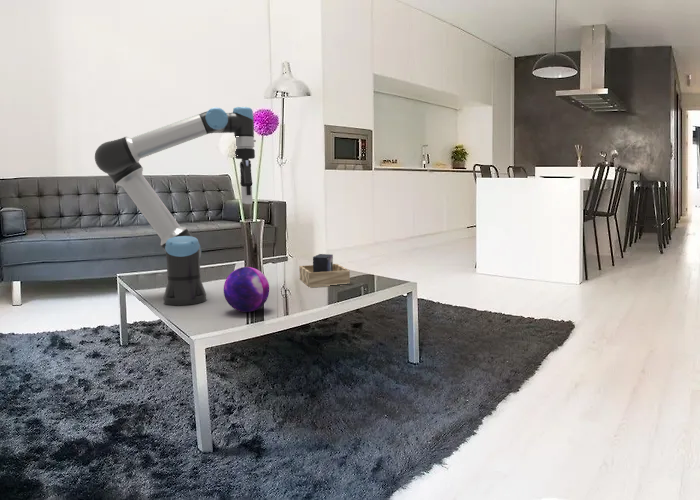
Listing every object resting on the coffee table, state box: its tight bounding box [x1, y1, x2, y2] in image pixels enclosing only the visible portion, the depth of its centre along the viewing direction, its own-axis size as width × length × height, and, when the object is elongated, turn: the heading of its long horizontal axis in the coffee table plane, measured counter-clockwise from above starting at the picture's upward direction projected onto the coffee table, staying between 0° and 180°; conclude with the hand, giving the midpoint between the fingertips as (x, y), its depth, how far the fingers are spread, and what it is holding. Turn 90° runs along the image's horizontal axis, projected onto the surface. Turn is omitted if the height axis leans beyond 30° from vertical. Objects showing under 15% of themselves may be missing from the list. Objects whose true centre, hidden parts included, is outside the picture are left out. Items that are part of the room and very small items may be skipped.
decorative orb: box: [223, 266, 270, 313], centre depth 191 cm, size 15×15×15 cm
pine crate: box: [298, 263, 351, 289], centre depth 244 cm, size 21×17×6 cm
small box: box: [312, 253, 334, 272], centre depth 244 cm, size 11×6×10 cm, turn 167°
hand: (246, 203), depth 224 cm, fingers open, 13 cm apart
